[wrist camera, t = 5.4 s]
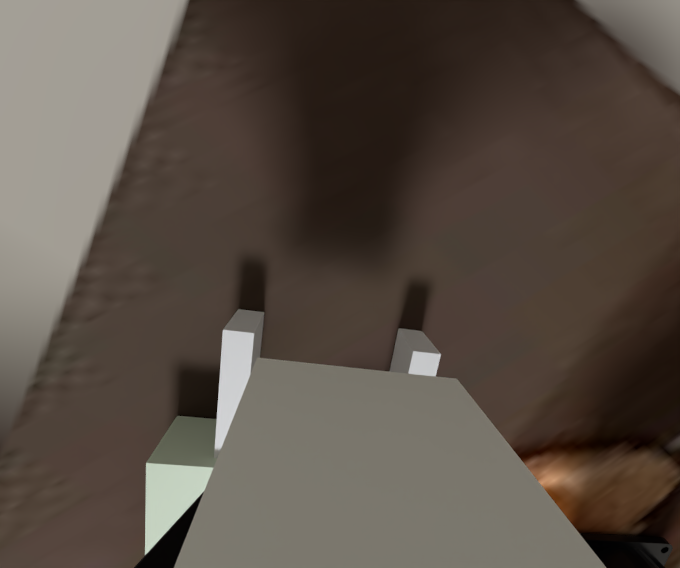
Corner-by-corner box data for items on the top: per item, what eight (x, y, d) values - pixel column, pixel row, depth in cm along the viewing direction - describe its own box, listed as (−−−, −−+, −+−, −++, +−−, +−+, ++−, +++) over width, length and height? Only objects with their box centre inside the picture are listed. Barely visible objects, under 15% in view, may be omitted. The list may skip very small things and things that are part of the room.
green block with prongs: (470, 336, 16) (557, 413, 10) (413, 550, 19) (454, 699, 14) (181, 302, 15) (92, 368, 9) (172, 539, 18) (102, 701, 12)
